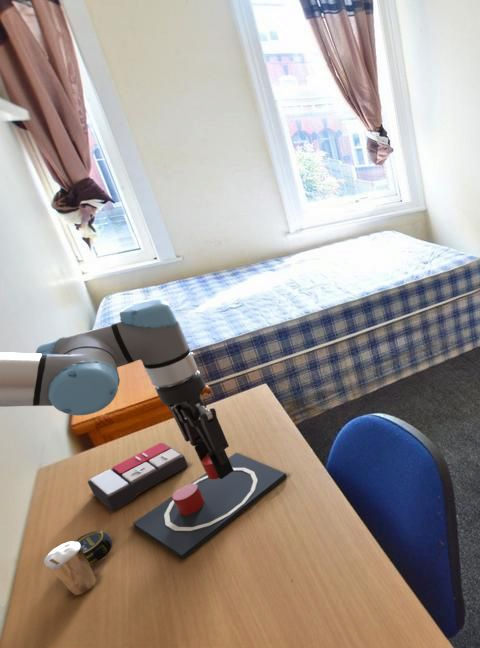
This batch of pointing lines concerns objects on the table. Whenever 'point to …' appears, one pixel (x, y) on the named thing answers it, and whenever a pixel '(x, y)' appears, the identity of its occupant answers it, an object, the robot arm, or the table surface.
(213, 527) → the face mat
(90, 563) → the tape measure
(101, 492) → the calculator
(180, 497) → the red cylinder block
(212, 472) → the red short cylinder
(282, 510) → the table surface
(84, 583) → the milkshake
